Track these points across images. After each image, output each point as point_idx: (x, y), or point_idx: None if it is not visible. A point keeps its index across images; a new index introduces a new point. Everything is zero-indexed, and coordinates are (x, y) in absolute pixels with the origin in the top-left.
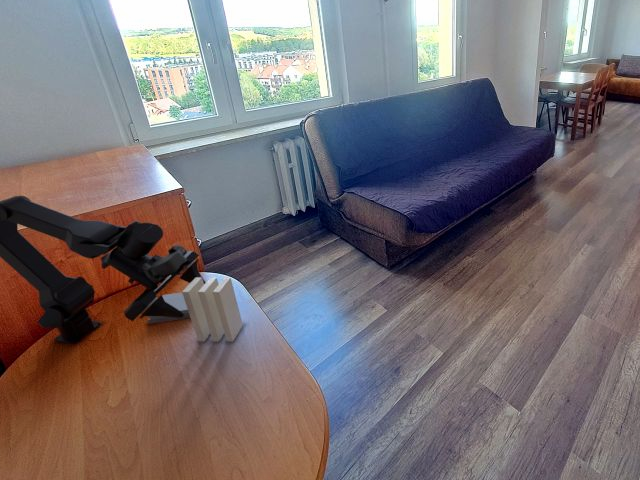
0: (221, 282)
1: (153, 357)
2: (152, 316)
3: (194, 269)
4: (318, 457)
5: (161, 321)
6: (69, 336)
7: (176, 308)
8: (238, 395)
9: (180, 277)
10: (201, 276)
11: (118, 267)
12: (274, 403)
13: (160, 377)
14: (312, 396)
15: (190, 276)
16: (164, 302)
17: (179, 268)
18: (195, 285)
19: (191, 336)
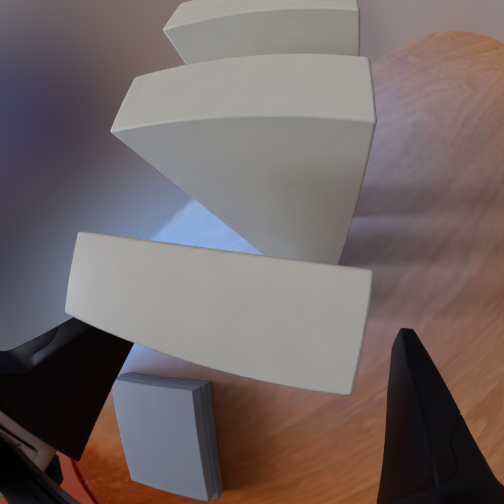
0: (226, 8)
1: (366, 431)
2: (209, 491)
3: (7, 364)
4: (497, 40)
5: (219, 466)
6: None
7: (185, 440)
8: (480, 133)
9: (74, 456)
10: (63, 323)
11: None
12: (472, 75)
13: (444, 366)
14: (443, 34)
15: (61, 397)
16: (451, 492)
17: (8, 469)
18: (199, 250)
19: None
